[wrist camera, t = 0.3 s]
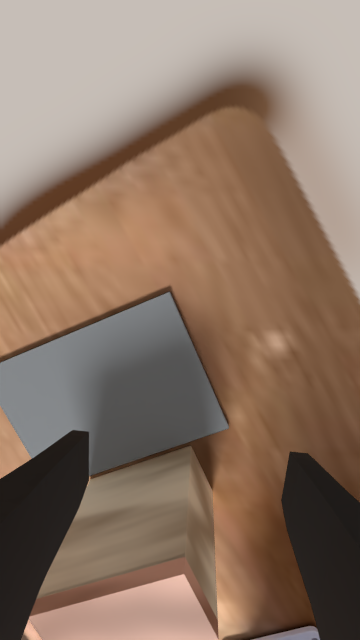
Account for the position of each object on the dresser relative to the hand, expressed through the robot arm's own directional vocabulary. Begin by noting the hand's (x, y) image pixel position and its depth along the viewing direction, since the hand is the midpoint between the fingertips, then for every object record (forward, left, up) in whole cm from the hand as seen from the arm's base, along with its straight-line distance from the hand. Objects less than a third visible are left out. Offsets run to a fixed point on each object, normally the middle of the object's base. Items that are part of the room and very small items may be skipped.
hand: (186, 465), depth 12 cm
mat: (0, +6, -10) cm, 12 cm away
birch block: (-8, +6, -10) cm, 14 cm away
